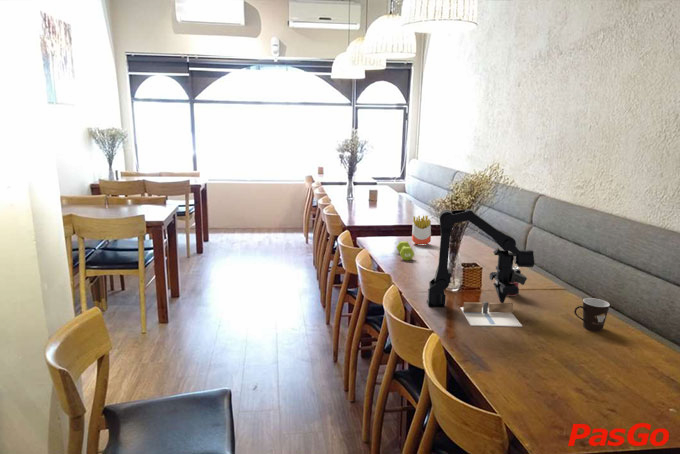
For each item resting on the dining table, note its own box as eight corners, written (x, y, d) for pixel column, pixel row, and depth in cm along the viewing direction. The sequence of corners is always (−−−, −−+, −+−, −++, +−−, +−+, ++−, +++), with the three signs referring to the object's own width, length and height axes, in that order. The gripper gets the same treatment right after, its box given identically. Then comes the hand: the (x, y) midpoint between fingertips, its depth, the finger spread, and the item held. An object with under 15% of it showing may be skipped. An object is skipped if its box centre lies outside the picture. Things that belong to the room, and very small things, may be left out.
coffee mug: (603, 324, 174) (607, 299, 172) (608, 334, 166) (612, 308, 164) (569, 320, 178) (572, 295, 176) (572, 329, 170) (575, 304, 168)
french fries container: (430, 245, 286) (431, 216, 282) (412, 245, 286) (414, 216, 282) (429, 243, 291) (430, 215, 287) (411, 243, 291) (412, 215, 287)
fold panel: (489, 312, 183) (490, 303, 182) (488, 311, 184) (489, 302, 183) (512, 312, 183) (513, 304, 182) (511, 311, 184) (512, 303, 183)
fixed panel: (464, 314, 183) (464, 302, 182) (462, 312, 185) (463, 301, 184) (488, 314, 183) (488, 303, 182) (486, 312, 185) (487, 301, 184)
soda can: (519, 297, 202) (521, 270, 199) (501, 295, 203) (504, 269, 200) (516, 291, 209) (518, 265, 206) (499, 290, 210) (501, 264, 207)
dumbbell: (396, 252, 270) (396, 240, 269) (409, 252, 270) (410, 240, 269) (399, 260, 254) (400, 248, 253) (414, 260, 254) (415, 248, 253)
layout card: (470, 325, 173) (470, 324, 173) (460, 308, 189) (460, 306, 189) (522, 326, 172) (522, 325, 172) (507, 308, 189) (507, 307, 189)
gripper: (534, 273, 175) (530, 312, 179) (517, 259, 193) (514, 294, 197) (504, 273, 175) (501, 311, 179) (490, 258, 194) (487, 294, 197)
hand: (501, 302), depth 188 cm, fingers closed
